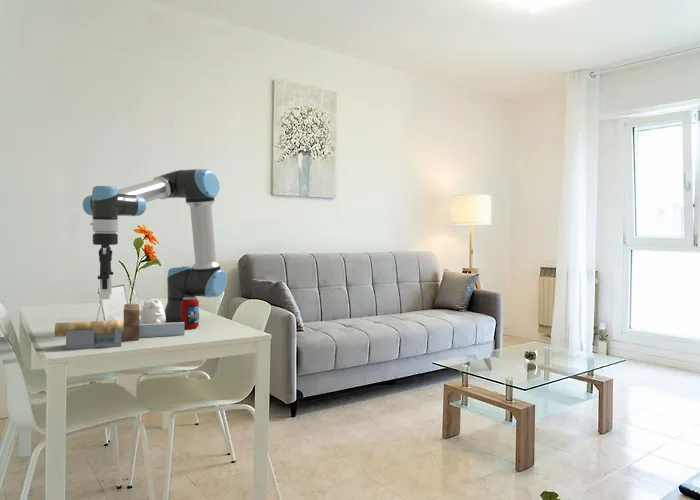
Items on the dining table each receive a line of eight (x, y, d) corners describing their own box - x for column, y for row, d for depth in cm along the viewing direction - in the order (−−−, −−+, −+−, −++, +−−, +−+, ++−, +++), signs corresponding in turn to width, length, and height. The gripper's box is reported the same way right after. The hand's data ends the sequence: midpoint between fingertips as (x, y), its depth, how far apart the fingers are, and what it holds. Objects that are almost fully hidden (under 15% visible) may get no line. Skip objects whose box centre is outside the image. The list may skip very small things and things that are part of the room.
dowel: (123, 331, 175) (123, 318, 175) (123, 334, 171) (123, 321, 171) (56, 335, 167) (56, 321, 167) (54, 337, 163) (54, 324, 163)
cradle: (121, 341, 177) (121, 324, 177) (121, 346, 169) (121, 328, 169) (69, 344, 171) (69, 326, 171) (65, 349, 163) (65, 331, 162)
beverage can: (193, 329, 200) (193, 299, 200) (177, 329, 202) (177, 298, 201) (201, 327, 207) (201, 297, 207) (186, 326, 208) (186, 296, 208)
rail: (183, 333, 192) (183, 322, 192) (184, 334, 190) (184, 323, 190) (94, 338, 180) (94, 326, 180) (93, 340, 178) (93, 327, 178)
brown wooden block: (138, 331, 195) (138, 303, 195) (139, 340, 179) (139, 309, 179) (124, 332, 193) (124, 304, 193) (123, 341, 177) (123, 310, 177)
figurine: (147, 326, 207) (147, 296, 207) (170, 327, 206) (170, 297, 206) (134, 330, 197) (134, 299, 197) (158, 331, 196) (158, 300, 196)
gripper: (95, 232, 180) (96, 292, 181) (89, 233, 157) (90, 302, 158) (118, 232, 183) (119, 291, 184) (116, 233, 160) (117, 301, 161)
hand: (106, 296), depth 171 cm, fingers open, 13 cm apart
